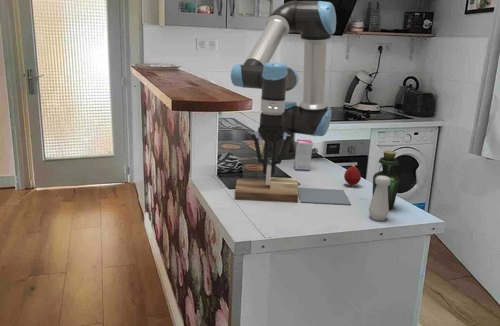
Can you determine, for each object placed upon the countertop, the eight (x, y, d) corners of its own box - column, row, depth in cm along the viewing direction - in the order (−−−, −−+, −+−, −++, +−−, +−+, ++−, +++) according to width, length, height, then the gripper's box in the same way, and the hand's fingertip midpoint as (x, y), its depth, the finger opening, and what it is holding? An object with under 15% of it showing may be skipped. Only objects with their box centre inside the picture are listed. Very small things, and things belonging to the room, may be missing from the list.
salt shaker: (363, 217, 139) (368, 175, 135) (375, 213, 142) (380, 172, 139) (380, 223, 135) (386, 180, 131) (391, 219, 138) (397, 177, 135)
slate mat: (297, 188, 162) (297, 187, 162) (343, 190, 162) (343, 189, 162) (300, 202, 148) (300, 201, 148) (351, 205, 148) (351, 204, 148)
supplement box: (310, 171, 183) (312, 143, 180) (295, 170, 183) (297, 142, 180) (308, 167, 189) (310, 139, 185) (293, 166, 188) (296, 138, 185)
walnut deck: (236, 185, 162) (237, 178, 161) (294, 188, 162) (294, 181, 161) (234, 199, 148) (235, 192, 148) (297, 202, 148) (298, 195, 148)
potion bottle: (393, 213, 143) (401, 156, 138) (367, 208, 146) (373, 152, 141) (397, 205, 150) (405, 151, 145) (372, 200, 153) (378, 147, 148)
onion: (362, 185, 168) (364, 164, 166) (356, 189, 164) (358, 167, 161) (347, 182, 171) (349, 161, 169) (340, 186, 167) (342, 164, 164)
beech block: (269, 184, 157) (270, 177, 156) (296, 185, 157) (297, 178, 156) (270, 189, 151) (270, 182, 150) (297, 191, 151) (298, 184, 150)
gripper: (251, 113, 144) (247, 186, 150) (293, 115, 144) (288, 188, 150) (252, 109, 151) (248, 179, 158) (292, 111, 151) (287, 181, 158)
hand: (267, 183), depth 154 cm, fingers closed
